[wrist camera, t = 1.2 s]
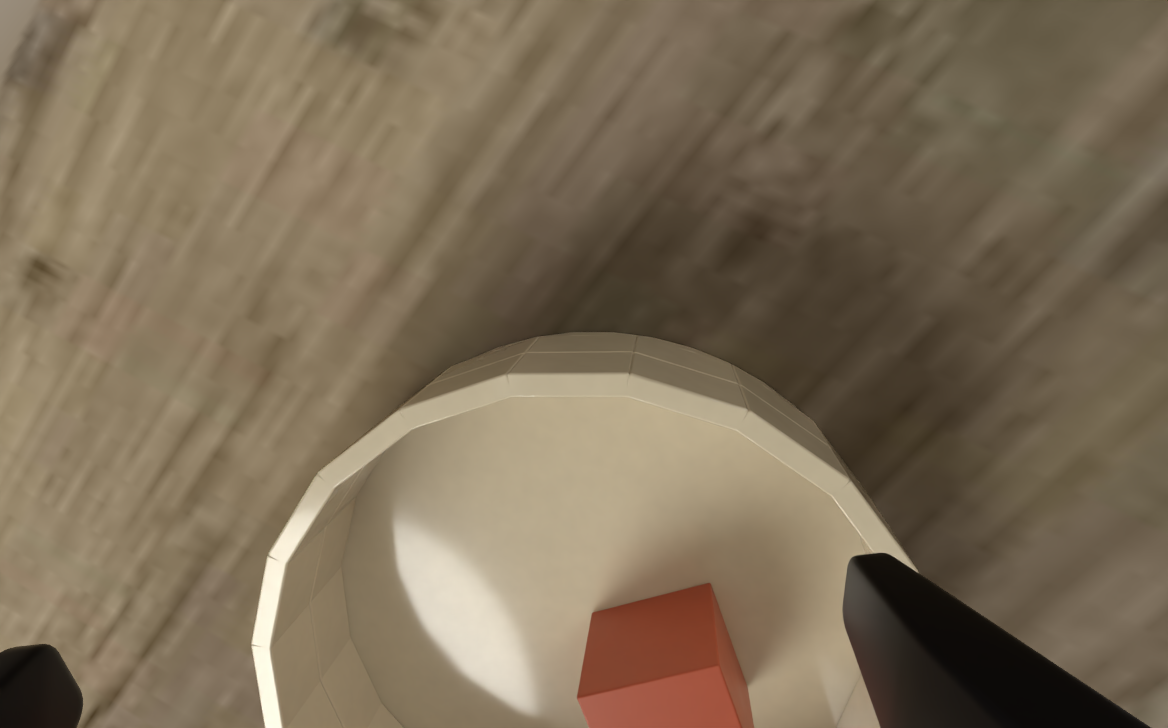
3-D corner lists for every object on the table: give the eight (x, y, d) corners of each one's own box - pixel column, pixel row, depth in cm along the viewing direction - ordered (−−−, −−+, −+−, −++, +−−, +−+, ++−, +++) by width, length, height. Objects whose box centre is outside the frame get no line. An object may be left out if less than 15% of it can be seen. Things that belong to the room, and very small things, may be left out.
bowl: (947, 768, 23) (1019, 918, 19) (454, 863, 27) (408, 1011, 22) (792, 246, 20) (831, 265, 15) (249, 431, 23) (141, 494, 19)
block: (747, 687, 23) (764, 788, 19) (631, 714, 24) (624, 816, 20) (710, 581, 22) (719, 664, 18) (591, 612, 23) (576, 697, 19)
